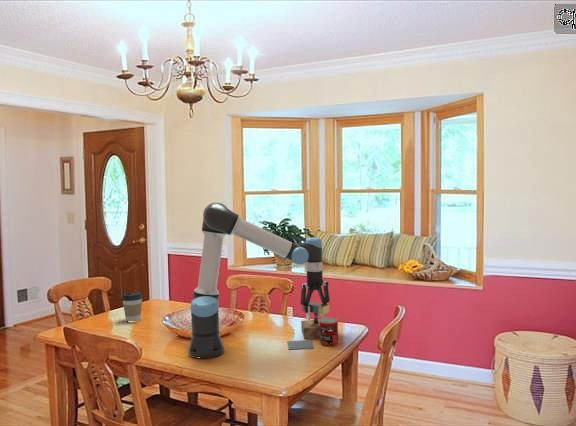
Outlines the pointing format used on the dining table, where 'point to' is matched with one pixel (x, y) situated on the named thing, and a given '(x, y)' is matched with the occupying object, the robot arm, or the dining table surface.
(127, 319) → the coffee cup
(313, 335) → the walnut block
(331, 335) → the canned food
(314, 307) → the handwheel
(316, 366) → the dining table surface
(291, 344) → the rubber mat
